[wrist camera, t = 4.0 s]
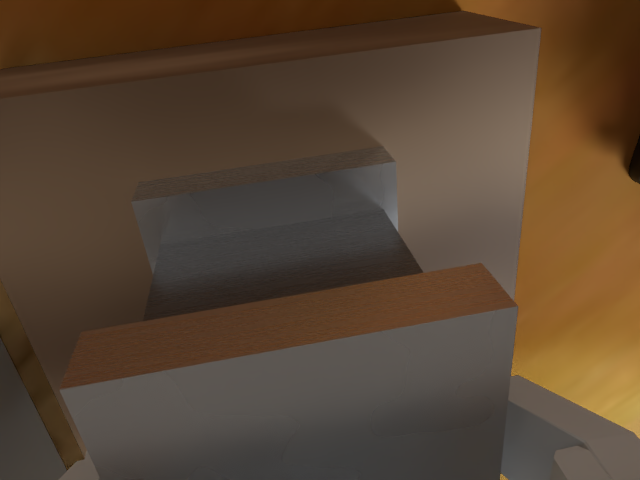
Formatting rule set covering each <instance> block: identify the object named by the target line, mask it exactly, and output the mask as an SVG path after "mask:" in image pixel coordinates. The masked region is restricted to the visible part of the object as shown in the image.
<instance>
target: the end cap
mask: <svg viewBox="0 0 640 480" xmlns="http://www.w3.org/2000/svg"><path fill="white" fill-rule="evenodd" d="M629 175H630V177H631V178H632V180H633V181H635V182H637V183H639V184H640V136H639V139H638V142H637V145H636V148H635V151H634V154H633V157H632V160H631V163H630V166H629Z"/></svg>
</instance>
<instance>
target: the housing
mask: <svg viewBox="0 0 640 480" xmlns="http://www.w3.org/2000/svg"><path fill="white" fill-rule="evenodd" d="M131 203H132V206H133V210H134V213H135V216H136V220H137V223H138V226H139V230H140V233H141V236H142V240H143V243H144V246H145V250H146V253H147V256H148V260H149V263H150V266H151V270H152V273H153V278H152V282H151V287H150V291H149V296H148V300H147V305H146V309H145V313H144V318H143V321H142V322H137V323H131V324H125V325H119V326H113V327H108V328H102V329H96V330H90V331H84V332H81V334H80V337H79V339H78V342H77V345H76V347H75V350H74V352H73V355H72V358H71V360H70V363H69V365H68V368H67V371H66V373H65V376H64V378H63V381H62V384H61V386H60V389H59V390H60V393H61V395H62V397H63V399H64V401H65V403H66V406H67V408H68V410H69V412H70V414H71V416H72V419H73V421H74V423H75V425H76V427H77V429H78V432H79V434H80V436H81V438H82V440H83V442H84V445H85V447H86V449H87V451H88V453H89V455H90V458H91V460H92V462H93V464H94V466H95V468H96V471H97V473H98V475H99V477H100V479H101V480H500V472H501V463H502V453H503V444H504V435H505V425H506V416H507V406H508V397H509V387H510V378H511V369H512V359H513V350H514V340H515V331H516V321H517V312H518V305H517V304H516V303H515V302H514V301H513V299H512V298H511V297H510V296H509V295H508V294H507V292H506V291H505V290H504V289H503V288H502V286H501V285H500V284H499V283H498V282H497V281H496V279H495V278H494V277H493V276H492V275H491V273H490V272H489V271H488V270H487V269H486V268H485V266H484V265H483V264H482V263H478V264H472V265H466V266H460V267H455V268H449V269H443V270H437V271H431V272H426V273H424V272H423V271H422V269H421V268H420V266H419V264H418V263H417V261H416V260H415V258H414V256H413V255H412V253H411V252H410V250H409V249H408V247H407V245H406V244H405V242H404V241H403V239H402V238H401V236H400V234H399V233H398V212H397V176H396V161H395V160H394V159H393V157H392V156H391V155H390V154H389V153H388V151H387V150H386V149H385V148H384V147H383V146H380V147H373V148H366V149H359V150H353V151H346V152H339V153H333V154H326V155H319V156H312V157H306V158H299V159H292V160H285V161H279V162H272V163H265V164H259V165H252V166H245V167H238V168H232V169H225V170H218V171H211V172H205V173H198V174H191V175H185V176H178V177H171V178H164V179H158V180H151V181H144V182H139V183H138V185H137V188H136V190H135V193H134V196H133V198H132V201H131Z"/></svg>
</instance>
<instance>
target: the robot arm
mask: <svg viewBox="0 0 640 480" xmlns="http://www.w3.org/2000/svg"><path fill="white" fill-rule="evenodd" d="M500 473H501V474H503V475H504V476H505V477H506V478H508V479H509V480H640V439H639V438H638V437H637V436H636V435H635V434H634V433H633V432H631V431H629V430H627V429H625V428H623V427H621V426H619V425H617V424H615V423H613V422H611V421H609V420H607V419H605V418H603V417H601V416H599V415H597V414H595V413H593V412H591V411H589V410H587V409H585V408H583V407H581V406H579V405H577V404H575V403H573V402H571V401H569V400H567V399H565V398H563V397H561V396H559V395H557V394H555V393H553V392H551V391H549V390H547V389H545V388H543V387H541V386H539V385H537V384H535V383H533V382H531V381H529V380H527V379H525V378H523V377H521V376H519V375H516V376H511V378H510V387H509V397H508V406H507V416H506V425H505V435H504V444H503V453H502V463H501V472H500ZM59 480H101V479H100V477H99V475H98V473H97V471H96V468H95V466H94V464H93V462H92V460H91V458H90V455H89V453H88V451H87V452H86V456H85V459H84V460H80V461H76V462H75V463H74V464H73V465H72V466H71V467H70V468H69V469H68V470H67V471H66V472H65V473H64V475H63V476H62V477H61V478H60V479H59Z"/></svg>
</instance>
